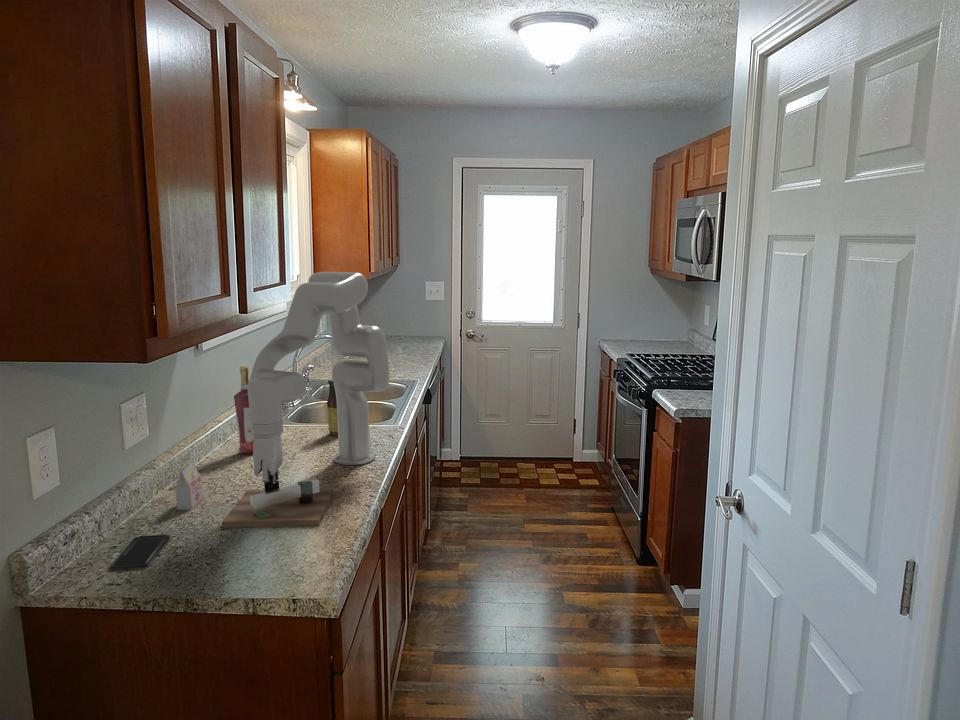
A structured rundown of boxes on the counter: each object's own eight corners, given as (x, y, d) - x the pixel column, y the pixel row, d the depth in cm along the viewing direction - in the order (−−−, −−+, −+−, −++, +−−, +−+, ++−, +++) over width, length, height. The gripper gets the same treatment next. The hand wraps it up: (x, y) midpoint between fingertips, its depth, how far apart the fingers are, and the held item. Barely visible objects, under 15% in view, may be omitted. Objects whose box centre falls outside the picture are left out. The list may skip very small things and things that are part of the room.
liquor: (251, 456, 215) (245, 370, 210) (233, 454, 218) (226, 368, 213) (266, 450, 222) (261, 365, 217) (248, 447, 224) (242, 364, 219)
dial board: (248, 494, 183) (247, 488, 183) (334, 493, 184) (334, 487, 184) (222, 527, 163) (221, 521, 162) (319, 525, 163) (318, 518, 163)
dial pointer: (315, 494, 178) (314, 478, 177) (321, 498, 175) (320, 481, 174) (249, 512, 167) (248, 494, 166) (255, 517, 164) (254, 499, 163)
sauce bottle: (339, 430, 244) (336, 376, 240) (350, 433, 240) (348, 378, 236) (324, 434, 239) (321, 379, 235) (336, 437, 235) (333, 381, 231)
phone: (170, 534, 157) (147, 564, 143) (171, 539, 158) (147, 569, 143) (135, 536, 157) (107, 567, 142) (135, 541, 157) (108, 572, 142)
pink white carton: (177, 509, 174) (173, 472, 172) (189, 499, 180) (186, 463, 179) (191, 509, 174) (188, 472, 172) (203, 499, 180) (200, 463, 178)
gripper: (260, 419, 175) (265, 486, 179) (242, 437, 160) (248, 510, 164) (289, 418, 175) (294, 485, 179) (274, 436, 161) (280, 509, 164)
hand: (272, 497), depth 171 cm, fingers closed
